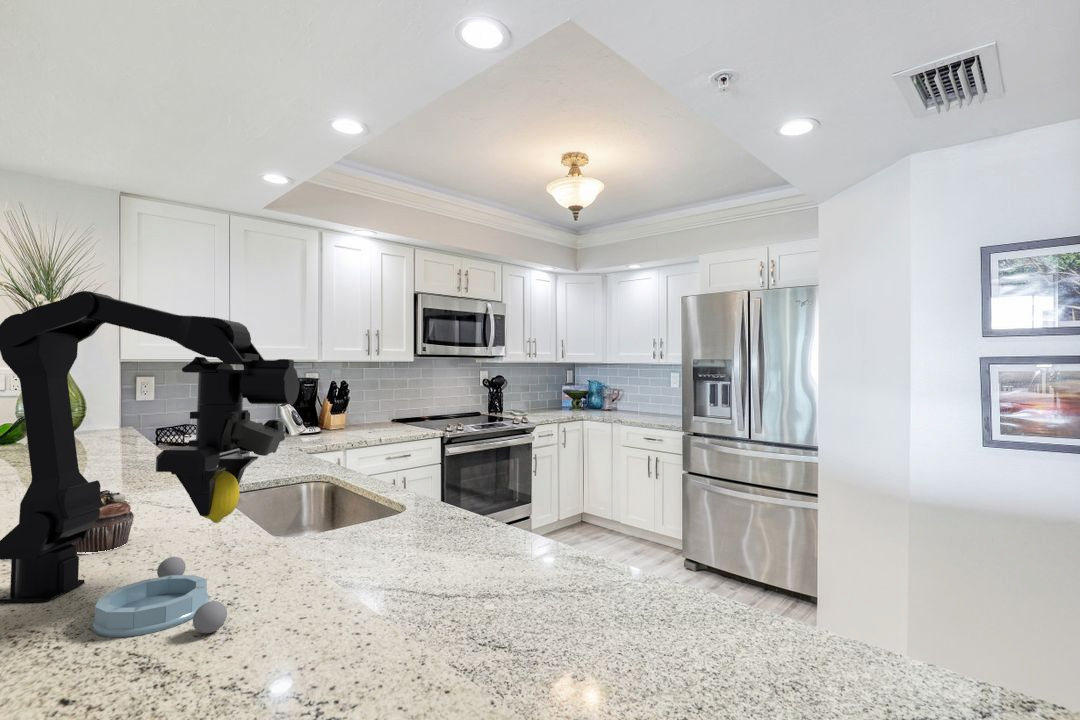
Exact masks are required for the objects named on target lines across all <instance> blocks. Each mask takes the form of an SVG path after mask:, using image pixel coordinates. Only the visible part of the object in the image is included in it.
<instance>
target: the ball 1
mask: <svg viewBox="0 0 1080 720" xmlns="http://www.w3.org/2000/svg"><path fill="white" fill-rule="evenodd" d="M186 568H187V567H186V562H185V560H184V559H183V558H181V557H179V556H170V557H167V558H165V559H164V560H162V562H160V563H159V565H158V567H157V570H156V571H157V572H156V573H157V578H159V577H165V576H171V575H184V574H185V571H186Z"/></svg>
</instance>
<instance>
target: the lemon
mask: <svg viewBox="0 0 1080 720" xmlns="http://www.w3.org/2000/svg"><path fill="white" fill-rule="evenodd" d="M239 500H240V484H239V485H238V482H237V479H236V478H235V477H234V476H233V475H232V474H231V473H229V472H227V471H223V472H222V473H221V474H220V475H219V476H218V477H217V478H216V481H215V487H214V494H213V500H212V506H211V511H210V515H208V516H202V517H204V518H205V519H208V520H210V521H211V522H213V524H218V523H220V522H221V521H222V520H223V519H224V518H226V517H228V516H229V515H231V514H232V513H234V511H235V509H236V508H237V506H238V504H239Z"/></svg>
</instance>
